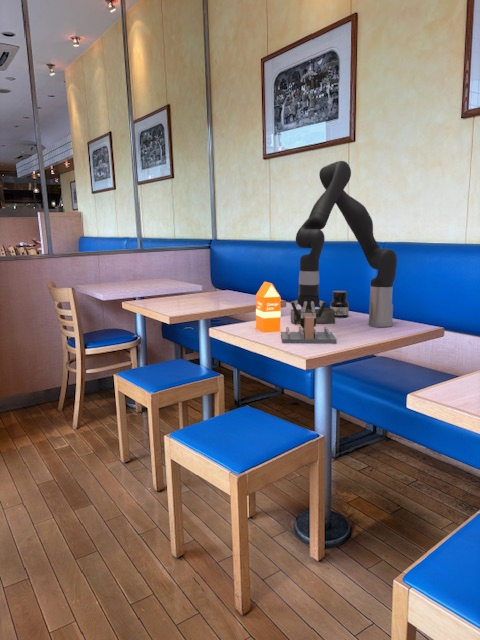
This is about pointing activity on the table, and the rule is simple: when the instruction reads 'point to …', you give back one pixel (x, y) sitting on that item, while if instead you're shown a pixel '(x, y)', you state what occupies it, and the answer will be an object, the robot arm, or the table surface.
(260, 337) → the table surface
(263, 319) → the orange juice
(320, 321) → the weathered grey box
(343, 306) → the ink bottle
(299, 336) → the rack
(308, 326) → the wooden block
